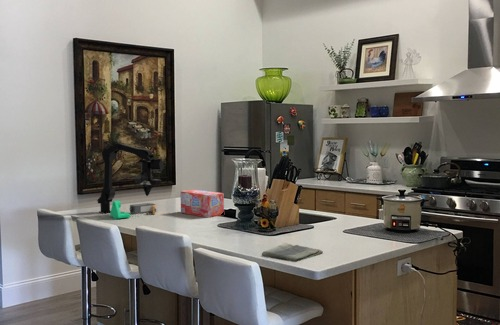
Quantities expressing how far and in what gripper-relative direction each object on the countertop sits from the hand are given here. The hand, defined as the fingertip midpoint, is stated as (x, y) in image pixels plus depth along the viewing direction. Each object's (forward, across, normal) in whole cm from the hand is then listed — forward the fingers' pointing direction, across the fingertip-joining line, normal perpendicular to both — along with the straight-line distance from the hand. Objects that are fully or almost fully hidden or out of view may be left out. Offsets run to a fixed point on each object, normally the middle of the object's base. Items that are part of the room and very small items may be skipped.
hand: (147, 195), depth 342 cm
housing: (+11, -6, +2) cm, 13 cm away
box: (+11, +32, +13) cm, 36 cm away
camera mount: (+11, -4, -18) cm, 22 cm away
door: (+11, +3, +3) cm, 12 cm away
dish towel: (+11, +129, -53) cm, 140 cm away
